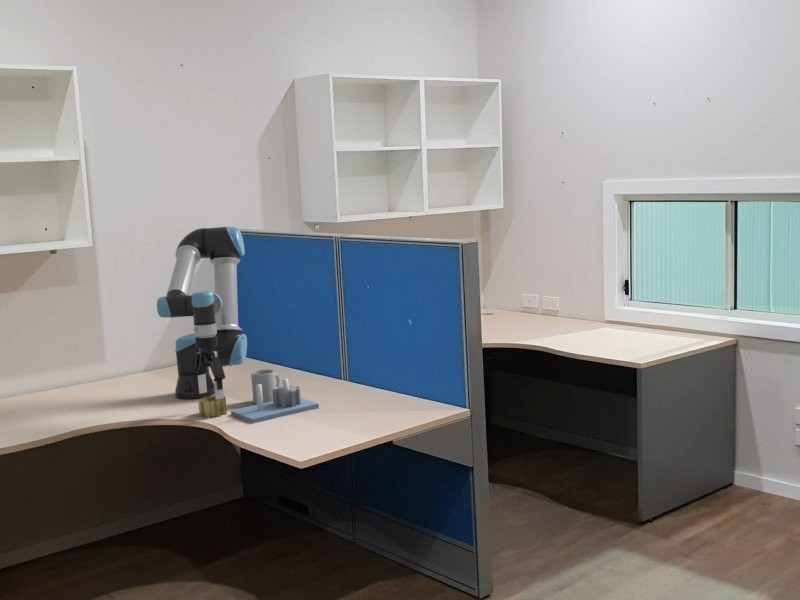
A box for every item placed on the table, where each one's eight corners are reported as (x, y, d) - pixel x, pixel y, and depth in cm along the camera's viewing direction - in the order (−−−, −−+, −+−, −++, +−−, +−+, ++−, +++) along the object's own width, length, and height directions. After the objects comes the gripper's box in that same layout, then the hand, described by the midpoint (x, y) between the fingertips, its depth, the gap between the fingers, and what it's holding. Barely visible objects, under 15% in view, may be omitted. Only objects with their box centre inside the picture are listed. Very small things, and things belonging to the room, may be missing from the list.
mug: (264, 405, 335) (262, 375, 333) (248, 402, 340) (246, 373, 338) (288, 397, 344) (286, 368, 342) (272, 395, 349) (269, 366, 348)
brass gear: (195, 414, 328) (193, 399, 327) (219, 408, 334) (218, 393, 333) (206, 419, 320) (205, 403, 320) (231, 413, 326) (230, 398, 325)
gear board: (231, 414, 325) (228, 385, 323) (296, 400, 340) (293, 371, 338) (252, 423, 312) (249, 392, 310) (318, 407, 327) (316, 378, 325)
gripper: (181, 334, 331) (186, 392, 334) (211, 341, 311) (216, 403, 313) (201, 331, 335) (206, 388, 338) (231, 337, 315) (237, 399, 318)
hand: (211, 395), depth 326 cm, fingers open, 13 cm apart
